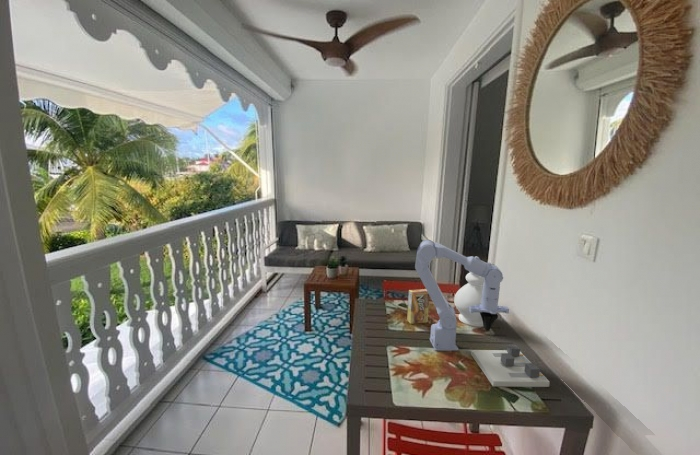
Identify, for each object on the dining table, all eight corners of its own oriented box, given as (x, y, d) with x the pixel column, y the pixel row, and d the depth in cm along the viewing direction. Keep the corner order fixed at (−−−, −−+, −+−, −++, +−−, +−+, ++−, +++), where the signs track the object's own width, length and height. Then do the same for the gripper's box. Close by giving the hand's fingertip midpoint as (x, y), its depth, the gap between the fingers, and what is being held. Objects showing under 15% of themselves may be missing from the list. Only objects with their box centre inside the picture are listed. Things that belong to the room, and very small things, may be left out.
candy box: (423, 318, 138) (425, 288, 135) (428, 322, 134) (430, 291, 131) (406, 320, 136) (408, 289, 133) (410, 324, 132) (412, 293, 129)
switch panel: (493, 386, 94) (493, 380, 93) (471, 354, 110) (471, 349, 110) (548, 386, 94) (549, 381, 93) (518, 354, 110) (519, 349, 110)
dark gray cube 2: (505, 366, 100) (505, 358, 100) (500, 360, 103) (501, 353, 103) (513, 366, 100) (514, 358, 100) (508, 360, 103) (509, 353, 103)
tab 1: (511, 356, 106) (512, 349, 105) (506, 351, 109) (507, 344, 108) (519, 356, 106) (520, 349, 105) (514, 351, 109) (515, 344, 108)
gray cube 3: (529, 377, 95) (530, 369, 94) (524, 371, 98) (525, 363, 97) (538, 377, 95) (539, 369, 94) (533, 371, 98) (534, 363, 97)
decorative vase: (486, 312, 144) (491, 265, 140) (498, 331, 127) (504, 278, 122) (449, 309, 147) (453, 263, 142) (456, 327, 130) (461, 275, 125)
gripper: (475, 301, 104) (472, 334, 107) (515, 301, 104) (510, 335, 107) (467, 293, 111) (464, 325, 114) (504, 293, 111) (501, 325, 114)
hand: (486, 329), depth 111 cm, fingers closed
